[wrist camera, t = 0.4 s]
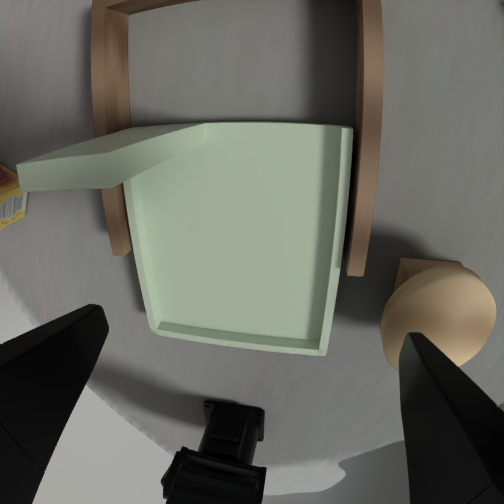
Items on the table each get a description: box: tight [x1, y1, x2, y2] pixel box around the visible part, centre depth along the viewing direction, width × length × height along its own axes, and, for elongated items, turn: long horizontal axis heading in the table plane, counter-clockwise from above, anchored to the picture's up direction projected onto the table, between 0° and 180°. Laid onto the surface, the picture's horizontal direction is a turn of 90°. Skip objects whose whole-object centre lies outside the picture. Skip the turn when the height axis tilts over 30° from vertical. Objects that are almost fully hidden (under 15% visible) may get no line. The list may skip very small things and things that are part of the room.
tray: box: [16, 121, 353, 356], centre depth 17 cm, size 16×14×11 cm
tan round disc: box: [380, 265, 496, 371], centre depth 18 cm, size 8×8×2 cm
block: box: [392, 258, 464, 295], centre depth 20 cm, size 5×5×4 cm
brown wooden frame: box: [91, 0, 383, 277], centre depth 17 cm, size 18×17×3 cm
